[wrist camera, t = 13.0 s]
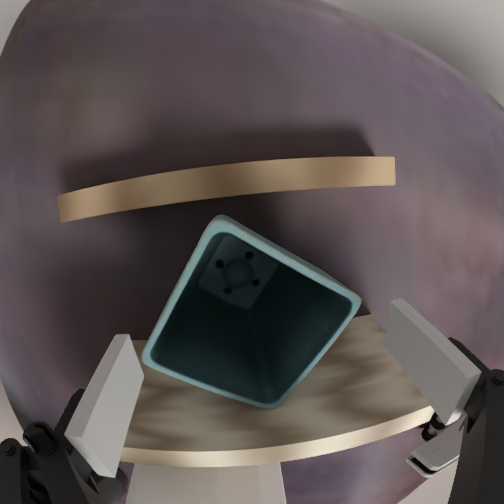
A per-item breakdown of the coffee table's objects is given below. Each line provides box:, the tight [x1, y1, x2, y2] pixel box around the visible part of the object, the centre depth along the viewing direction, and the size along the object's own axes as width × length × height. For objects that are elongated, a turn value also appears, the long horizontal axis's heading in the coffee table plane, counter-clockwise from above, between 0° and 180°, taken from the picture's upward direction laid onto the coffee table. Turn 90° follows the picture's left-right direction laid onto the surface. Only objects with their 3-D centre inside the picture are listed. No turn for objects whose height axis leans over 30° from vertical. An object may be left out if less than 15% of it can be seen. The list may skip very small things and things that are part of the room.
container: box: [126, 462, 286, 504], centre depth 20 cm, size 14×14×18 cm
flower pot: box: [141, 215, 362, 409], centre depth 18 cm, size 9×9×9 cm
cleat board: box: [56, 156, 434, 467], centre depth 17 cm, size 24×16×12 cm, turn 96°
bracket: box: [405, 413, 466, 478], centre depth 28 cm, size 4×10×15 cm
